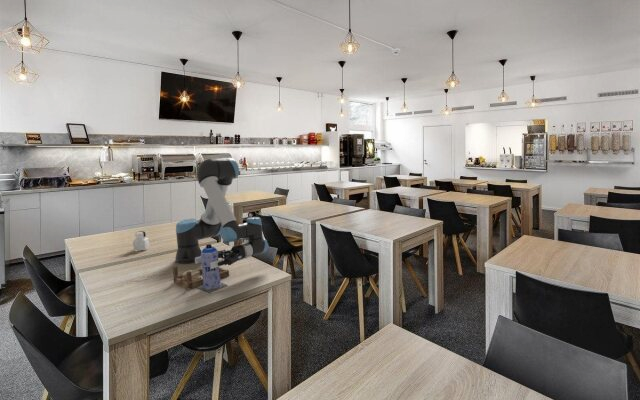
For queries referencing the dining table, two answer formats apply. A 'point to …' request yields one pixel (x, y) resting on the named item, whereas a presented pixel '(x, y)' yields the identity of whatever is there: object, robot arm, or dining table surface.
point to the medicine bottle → (141, 241)
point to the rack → (189, 283)
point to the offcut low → (192, 280)
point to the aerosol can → (209, 275)
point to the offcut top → (192, 274)
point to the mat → (211, 289)
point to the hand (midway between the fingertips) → (202, 263)
